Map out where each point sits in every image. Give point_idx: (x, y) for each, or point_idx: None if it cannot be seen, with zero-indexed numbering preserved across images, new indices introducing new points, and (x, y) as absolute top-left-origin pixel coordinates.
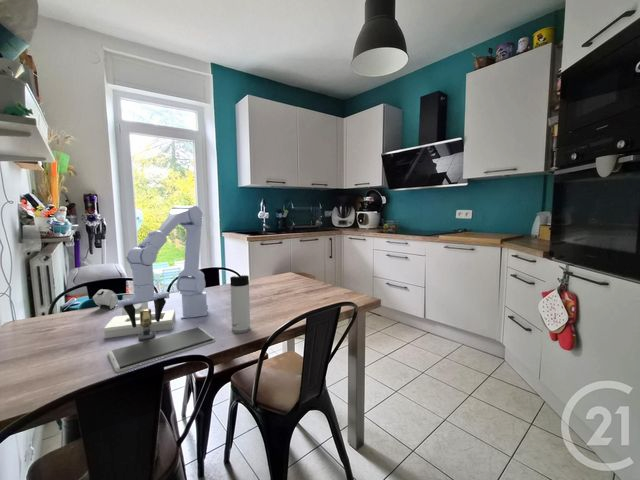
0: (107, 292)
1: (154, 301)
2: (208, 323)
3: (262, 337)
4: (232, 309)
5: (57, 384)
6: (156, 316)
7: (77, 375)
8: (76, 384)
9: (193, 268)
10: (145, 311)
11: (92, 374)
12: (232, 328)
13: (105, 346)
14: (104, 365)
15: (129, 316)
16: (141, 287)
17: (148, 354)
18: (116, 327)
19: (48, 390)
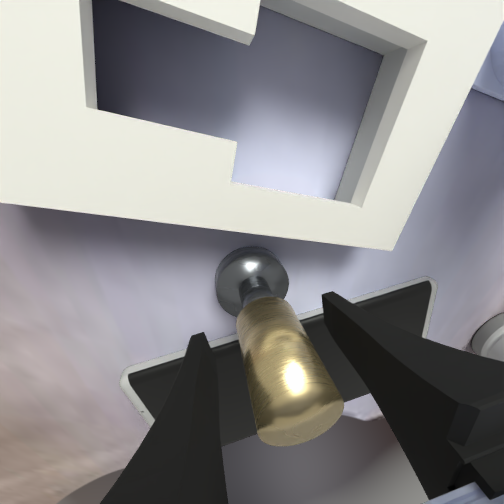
0: None
1: (441, 415)
2: (482, 235)
3: None
4: None
5: (37, 471)
6: (339, 332)
7: (72, 448)
8: (94, 473)
9: None
10: (298, 440)
11: (116, 449)
12: (484, 348)
13: (73, 297)
14: (133, 420)
15: (172, 403)
16: None
17: (251, 423)
18: (57, 205)
19: (30, 485)
